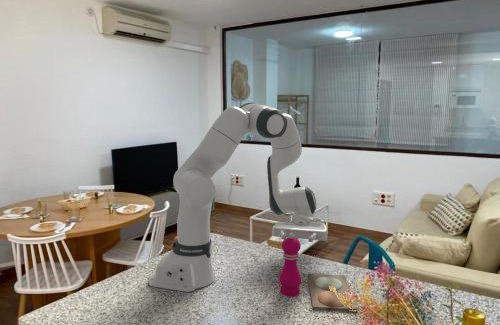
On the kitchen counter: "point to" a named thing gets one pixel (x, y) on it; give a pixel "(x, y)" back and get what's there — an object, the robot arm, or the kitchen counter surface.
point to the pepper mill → (290, 267)
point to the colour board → (327, 291)
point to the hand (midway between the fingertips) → (296, 238)
